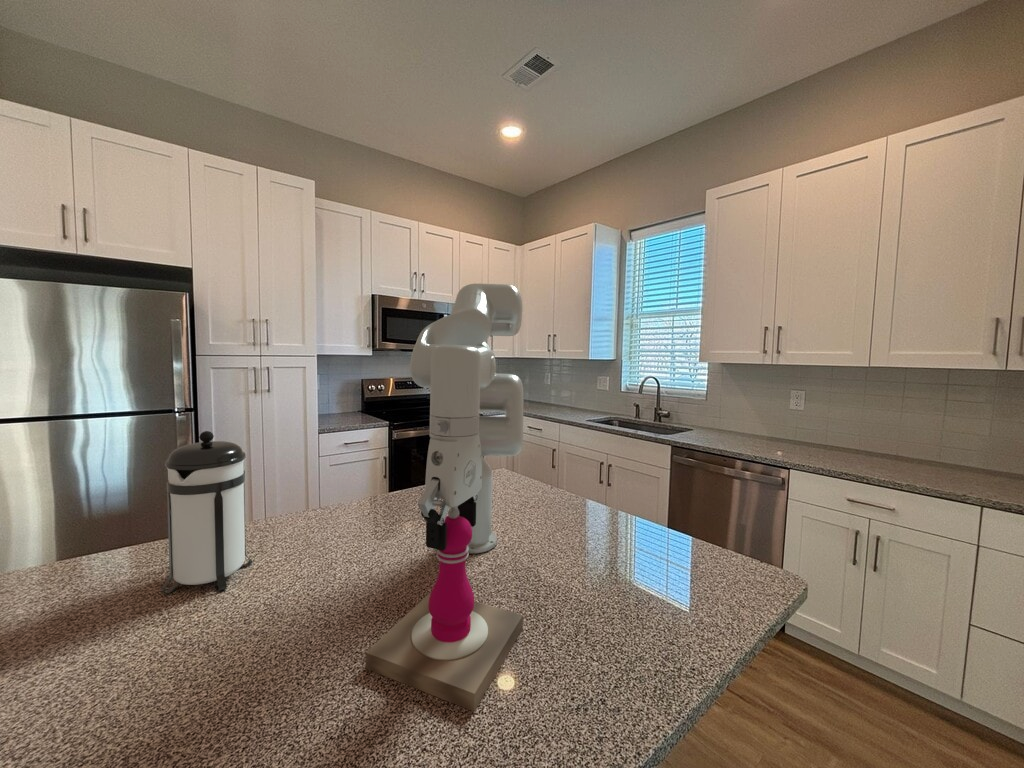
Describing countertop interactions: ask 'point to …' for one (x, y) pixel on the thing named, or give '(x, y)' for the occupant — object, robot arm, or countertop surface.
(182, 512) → the coffee press
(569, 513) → the countertop surface
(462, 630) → the pepper mill
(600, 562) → the countertop surface
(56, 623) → the countertop surface
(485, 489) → the robot arm
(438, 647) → the walnut stand
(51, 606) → the countertop surface
